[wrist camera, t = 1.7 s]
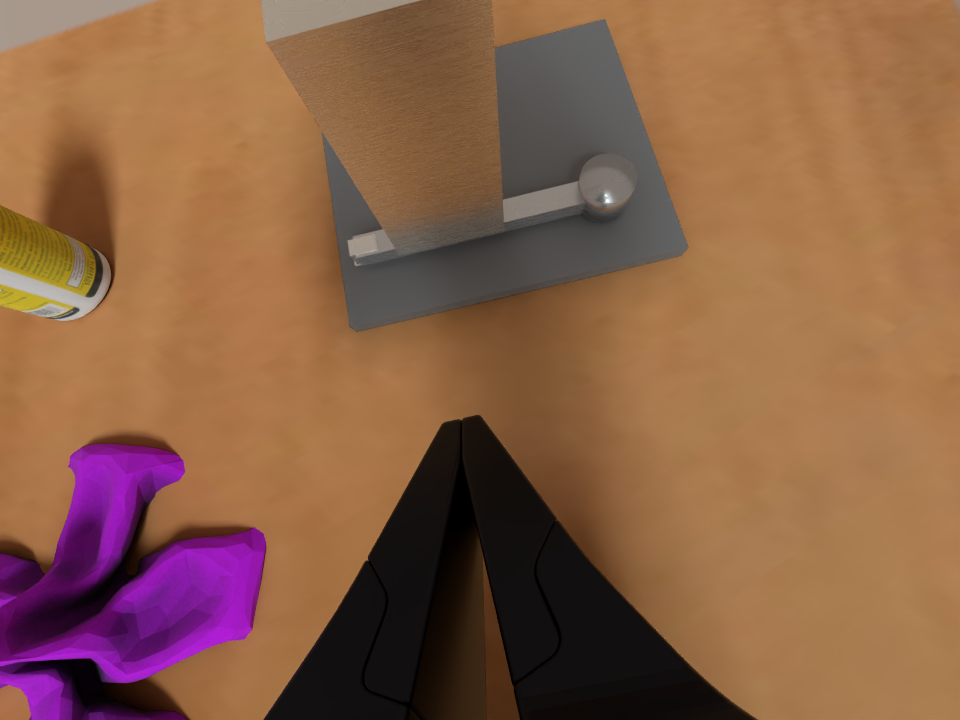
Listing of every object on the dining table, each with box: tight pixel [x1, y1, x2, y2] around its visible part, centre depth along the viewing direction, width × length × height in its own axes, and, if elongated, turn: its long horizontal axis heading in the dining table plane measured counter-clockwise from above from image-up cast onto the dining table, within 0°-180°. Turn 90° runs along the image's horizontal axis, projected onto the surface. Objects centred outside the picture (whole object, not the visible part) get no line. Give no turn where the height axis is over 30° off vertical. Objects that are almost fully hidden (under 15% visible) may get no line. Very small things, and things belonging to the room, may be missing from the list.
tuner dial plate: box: [322, 19, 688, 332], centre depth 25 cm, size 20×17×1 cm
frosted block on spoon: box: [261, 0, 637, 266], centre depth 17 cm, size 16×3×13 cm, turn 102°
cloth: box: [0, 444, 266, 720], centre depth 19 cm, size 22×19×6 cm
